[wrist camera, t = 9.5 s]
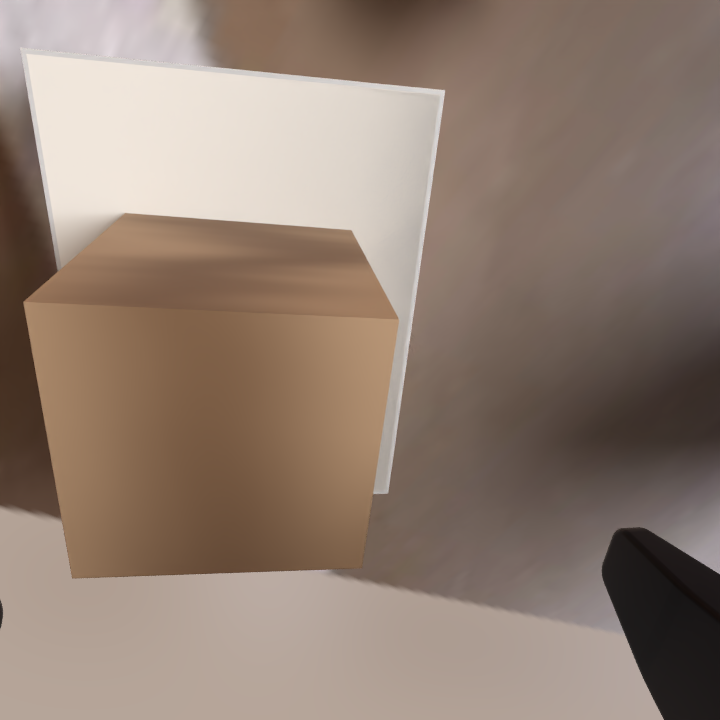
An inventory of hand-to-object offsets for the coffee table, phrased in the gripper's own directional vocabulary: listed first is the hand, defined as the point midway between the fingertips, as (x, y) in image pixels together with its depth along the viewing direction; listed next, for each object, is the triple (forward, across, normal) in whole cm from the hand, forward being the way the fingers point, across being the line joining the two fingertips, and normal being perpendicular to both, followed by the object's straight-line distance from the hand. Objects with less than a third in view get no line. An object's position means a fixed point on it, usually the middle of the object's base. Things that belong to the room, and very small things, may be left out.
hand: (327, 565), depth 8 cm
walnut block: (+8, +2, 0) cm, 8 cm away
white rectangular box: (+12, +2, 0) cm, 12 cm away
